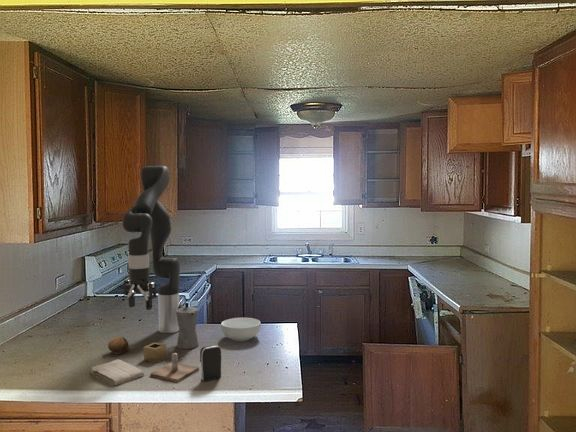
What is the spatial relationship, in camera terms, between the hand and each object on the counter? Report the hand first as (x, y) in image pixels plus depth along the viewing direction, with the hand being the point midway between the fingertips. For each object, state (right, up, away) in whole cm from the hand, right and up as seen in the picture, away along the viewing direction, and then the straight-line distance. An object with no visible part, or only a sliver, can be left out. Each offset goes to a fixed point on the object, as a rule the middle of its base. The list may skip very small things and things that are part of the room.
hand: (140, 308), depth 192 cm
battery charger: (+29, -22, -16) cm, 40 cm away
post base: (+16, -21, -12) cm, 29 cm away
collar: (+5, -20, +3) cm, 21 cm away
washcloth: (-5, -22, -13) cm, 26 cm away
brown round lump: (-12, -20, +10) cm, 25 cm away
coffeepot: (+14, -19, +18) cm, 30 cm away
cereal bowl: (+36, -18, +26) cm, 48 cm away
